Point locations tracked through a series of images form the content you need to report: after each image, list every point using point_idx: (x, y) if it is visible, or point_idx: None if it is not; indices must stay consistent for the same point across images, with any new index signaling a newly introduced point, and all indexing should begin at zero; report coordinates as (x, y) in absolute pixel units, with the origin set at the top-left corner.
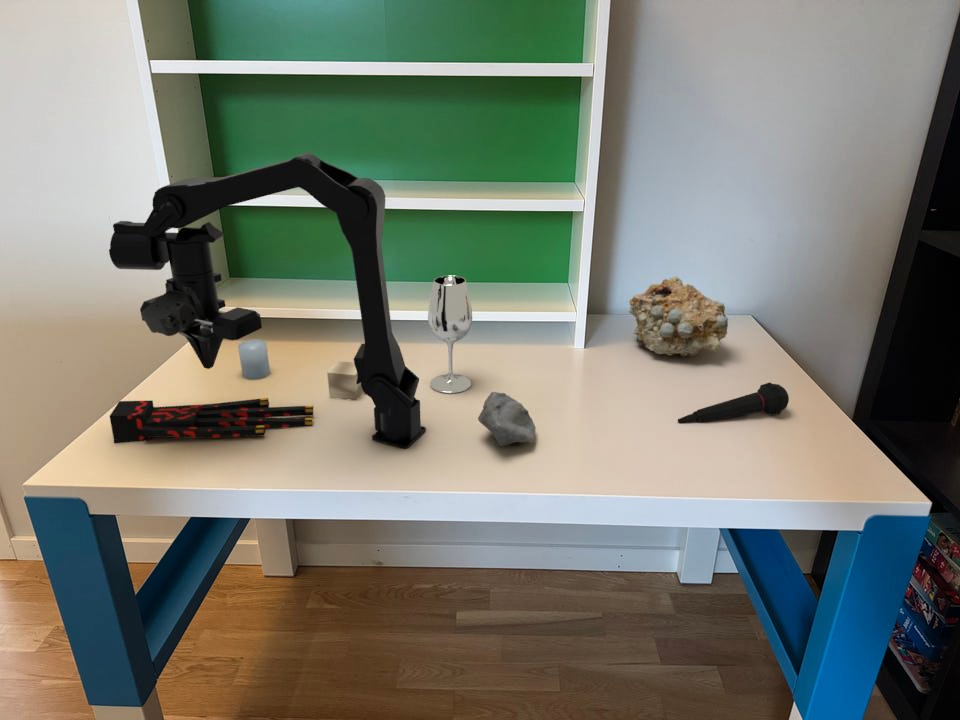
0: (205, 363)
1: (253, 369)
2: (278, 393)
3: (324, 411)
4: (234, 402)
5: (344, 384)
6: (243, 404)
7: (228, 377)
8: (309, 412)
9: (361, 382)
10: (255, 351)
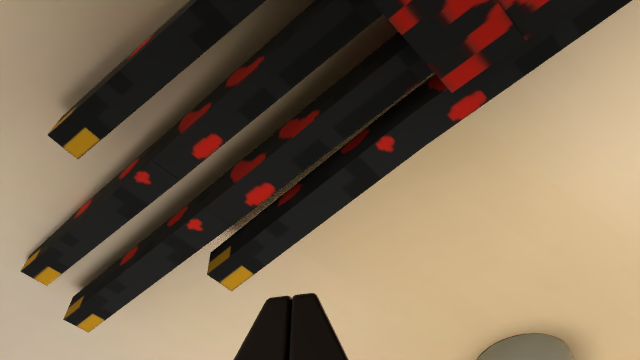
0: (272, 336)
1: None
2: (341, 326)
3: (98, 327)
4: (330, 204)
5: None
6: (282, 213)
7: (602, 312)
8: (75, 301)
9: None
10: None
